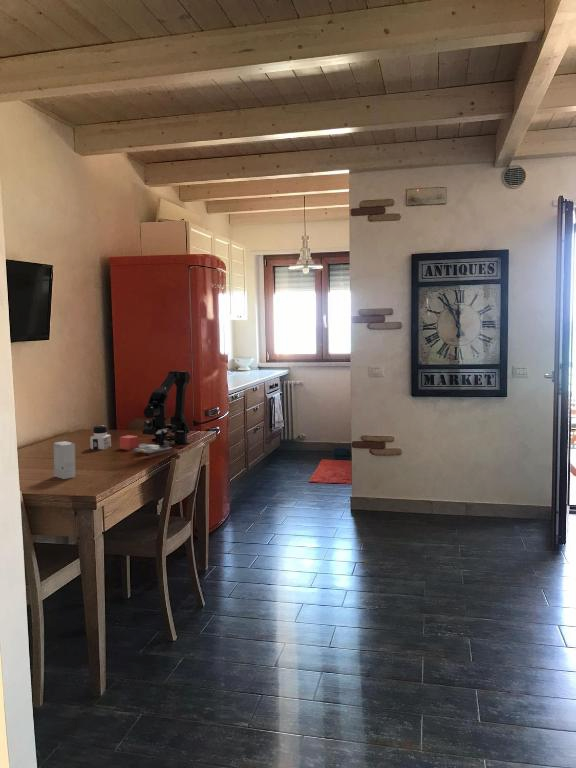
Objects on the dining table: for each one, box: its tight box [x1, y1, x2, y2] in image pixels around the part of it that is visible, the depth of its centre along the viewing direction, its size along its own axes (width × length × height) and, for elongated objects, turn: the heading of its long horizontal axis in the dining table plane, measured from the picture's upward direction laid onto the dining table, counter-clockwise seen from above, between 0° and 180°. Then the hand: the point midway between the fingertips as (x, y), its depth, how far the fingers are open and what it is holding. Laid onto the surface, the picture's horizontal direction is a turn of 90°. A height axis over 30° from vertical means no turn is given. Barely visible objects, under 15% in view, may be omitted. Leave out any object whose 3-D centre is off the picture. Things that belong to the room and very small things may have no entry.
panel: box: [123, 443, 174, 457], centre depth 319 cm, size 16×22×2 cm
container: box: [89, 424, 112, 450], centre depth 322 cm, size 8×8×13 cm
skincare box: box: [53, 440, 76, 480], centre depth 266 cm, size 8×6×15 cm
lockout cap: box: [119, 434, 140, 451], centre depth 319 cm, size 6×7×6 cm
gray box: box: [160, 440, 170, 448], centre depth 319 cm, size 3×4×3 cm
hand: (160, 446), depth 317 cm, fingers closed
